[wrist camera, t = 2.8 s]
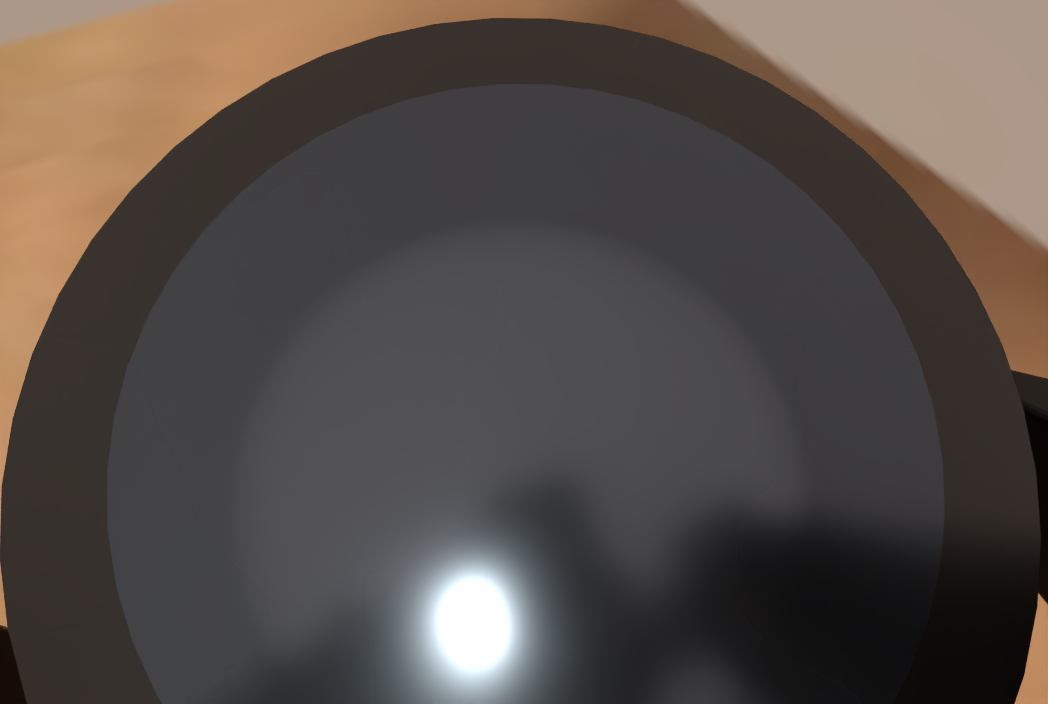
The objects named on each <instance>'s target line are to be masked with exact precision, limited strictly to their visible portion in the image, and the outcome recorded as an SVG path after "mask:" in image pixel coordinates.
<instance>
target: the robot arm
mask: <svg viewBox="0 0 1048 704" xmlns="http://www.w3.org/2000/svg"><path fill="white" fill-rule="evenodd" d="M1011 373H1012V376H1013V379H1014V382H1015V385H1016V388H1017V390H1018V393H1019V396H1020V399H1021V402H1022V405H1023V409H1024V414H1025V419H1026V424H1027V429H1028V434H1029V439H1030V444H1031V449H1032V454H1033V459H1034V463H1035V468H1036V477H1037V491H1038V504H1039V518H1040V531H1041V547H1040V565H1039V583H1038V593H1039V594H1040V596H1041V597H1042V598H1043V599H1044V600H1045V602H1046V603H1047V604H1048V379H1046V378H1042V377H1038V376H1034V375H1029V374H1025V373H1021V372H1017V371H1012V370H1011ZM0 704H27V702H26V698H25V694H24V690H23V687H22V683H21V679H20V675H19V671H18V667H17V663H16V659H15V655H14V651H13V647H12V643H11V640H10V636H9V632H8V628H7V627H5V626H1V625H0Z"/></svg>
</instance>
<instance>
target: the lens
mask: <svg viewBox="0 0 1048 704" xmlns="http://www.w3.org/2000/svg"><path fill="white" fill-rule="evenodd" d="M1040 547H1041V531H1040V518H1039V504H1038V491H1037V477H1036V468H1035V463H1034V459H1033V454H1032V449H1031V444H1030V439H1029V434H1028V429H1027V424H1026V419H1025V414H1024V409H1023V405H1022V402H1021V399H1020V396H1019V393H1018V390H1017V388H1016V385H1015V382H1014V379H1013V376H1012V373H1011V370H1010V367H1009V364H1008V361H1007V358H1006V355H1005V352H1004V349H1003V346H1002V344H1001V342H1000V340H999V337H998V335H997V333H996V331H995V329H994V327H993V325H992V323H991V321H990V319H989V317H988V314H987V312H986V310H985V308H984V306H983V304H982V302H981V300H980V298H979V296H978V293H977V291H976V289H975V288H974V286H973V285H972V283H971V281H970V280H969V278H968V277H967V275H966V273H965V272H964V270H963V269H962V267H961V265H960V264H959V262H958V261H957V259H956V258H955V256H954V254H953V253H952V251H951V250H950V248H949V246H948V245H947V243H946V242H945V240H944V239H943V237H942V236H941V235H940V233H939V232H938V231H937V230H936V228H935V227H934V226H933V225H932V223H931V222H930V221H929V220H928V218H927V217H926V216H925V215H924V213H923V212H922V211H921V210H920V209H919V207H918V206H917V205H916V204H915V202H914V201H913V200H912V199H911V197H910V196H909V195H908V194H907V192H906V191H905V190H904V189H903V188H902V187H901V186H900V185H899V184H898V183H897V182H896V181H895V180H894V179H893V178H892V177H891V176H890V175H889V174H888V173H887V172H886V171H885V170H884V169H883V168H882V167H881V166H880V165H879V164H878V163H877V162H876V161H875V160H874V159H873V158H872V157H871V156H870V155H869V154H867V153H866V152H865V151H864V150H863V149H862V148H861V147H860V146H859V145H857V144H856V143H855V142H854V141H852V140H851V139H850V138H848V137H847V136H846V135H845V134H843V133H842V132H841V131H840V130H838V129H837V128H836V127H834V126H833V125H832V124H831V123H829V122H828V121H827V120H826V119H824V118H823V117H822V116H820V115H819V114H818V113H817V112H815V111H813V110H812V109H810V108H809V107H807V106H805V105H804V104H802V103H801V102H799V101H797V100H796V99H794V98H792V97H791V96H789V95H788V94H786V93H784V92H783V91H781V90H780V89H778V88H776V87H775V86H773V85H772V84H770V83H768V82H767V81H764V80H762V79H760V78H758V77H756V76H754V75H752V74H750V73H748V72H746V71H744V70H741V69H739V68H737V67H735V66H733V65H731V64H729V63H727V62H725V61H723V60H720V59H718V58H716V57H714V56H711V55H708V54H705V53H702V52H699V51H697V50H694V49H691V48H688V47H685V46H682V45H679V44H677V43H674V42H671V41H668V40H665V39H662V38H658V37H654V36H650V35H645V34H641V33H637V32H632V31H628V30H624V29H619V28H615V27H611V26H606V25H598V24H590V23H581V22H573V21H564V20H556V19H521V18H490V19H480V20H471V21H461V22H451V23H441V24H434V25H429V26H424V27H420V28H415V29H410V30H406V31H401V32H396V33H392V34H387V35H382V36H379V37H376V38H373V39H370V40H367V41H364V42H361V43H358V44H355V45H352V46H349V47H346V48H343V49H340V50H337V51H334V52H331V53H328V54H325V55H323V56H321V57H318V58H316V59H314V60H312V61H310V62H308V63H306V64H303V65H301V66H299V67H297V68H295V69H293V70H290V71H288V72H286V73H284V74H282V75H280V76H278V77H275V78H273V79H271V80H270V81H268V82H266V83H265V84H263V85H262V86H260V87H258V88H257V89H255V90H253V91H252V92H250V93H249V94H247V95H245V96H244V97H242V98H240V99H239V100H237V101H235V102H234V103H232V104H231V105H229V106H227V107H226V108H224V109H222V110H221V111H220V112H218V113H217V114H216V115H215V116H213V117H212V118H211V119H209V120H208V121H207V122H206V123H204V124H203V125H202V126H201V127H199V128H198V129H197V130H195V131H194V132H193V133H192V134H190V135H189V136H188V137H187V138H185V139H184V140H183V141H181V142H180V143H179V144H178V145H176V146H175V147H174V148H173V149H172V150H171V151H170V152H169V153H168V154H167V155H166V156H165V157H164V158H163V159H162V160H161V161H160V162H159V163H158V164H157V165H156V166H155V167H154V168H153V169H152V170H151V171H150V172H149V173H148V174H147V175H146V176H145V177H144V178H143V179H142V180H141V181H140V182H139V183H138V184H137V185H136V186H135V187H134V188H133V189H132V190H131V191H130V192H129V193H128V195H127V196H126V197H125V198H124V200H123V201H122V202H121V203H120V205H119V206H118V207H117V209H116V210H115V211H114V212H113V214H112V215H111V216H110V217H109V219H108V220H107V221H106V223H105V224H104V225H103V226H102V228H101V229H100V230H99V231H98V233H97V234H96V235H95V237H94V238H93V239H92V240H91V242H90V244H89V245H88V247H87V249H86V250H85V252H84V254H83V255H82V257H81V259H80V260H79V262H78V264H77V265H76V267H75V269H74V270H73V272H72V274H71V275H70V277H69V278H68V280H67V282H66V283H65V285H64V287H63V288H62V290H61V292H60V293H59V295H58V297H57V300H56V302H55V304H54V306H53V309H52V311H51V313H50V315H49V318H48V320H47V322H46V324H45V327H44V329H43V331H42V333H41V336H40V338H39V340H38V342H37V345H36V347H35V349H34V351H33V354H32V356H31V360H30V363H29V366H28V370H27V373H26V376H25V380H24V383H23V386H22V390H21V393H20V396H19V400H18V403H17V406H16V410H15V413H14V416H13V421H12V427H11V433H10V439H9V445H8V452H7V458H6V464H5V470H4V476H3V482H2V498H1V536H0V562H1V571H2V581H3V590H4V599H5V608H6V617H7V626H8V632H9V636H10V640H11V643H12V647H13V651H14V655H15V659H16V663H17V667H18V671H19V675H20V679H21V683H22V687H23V690H24V694H25V698H26V702H27V704H1014V703H1015V700H1016V697H1017V695H1018V692H1019V689H1020V686H1021V683H1022V680H1023V677H1024V673H1025V667H1026V662H1027V657H1028V652H1029V647H1030V641H1031V636H1032V631H1033V626H1034V620H1035V615H1036V610H1037V601H1038V583H1039V565H1040Z"/></svg>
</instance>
